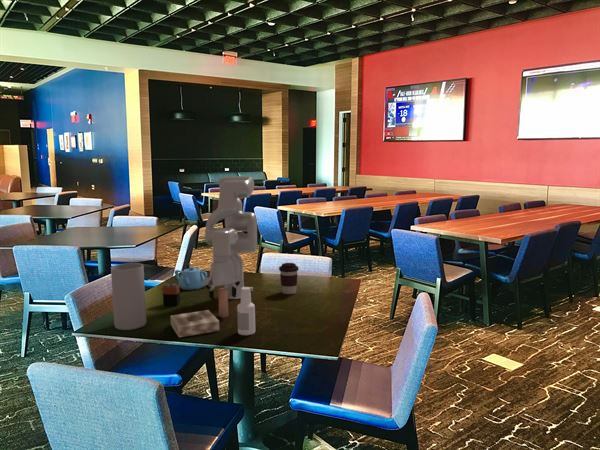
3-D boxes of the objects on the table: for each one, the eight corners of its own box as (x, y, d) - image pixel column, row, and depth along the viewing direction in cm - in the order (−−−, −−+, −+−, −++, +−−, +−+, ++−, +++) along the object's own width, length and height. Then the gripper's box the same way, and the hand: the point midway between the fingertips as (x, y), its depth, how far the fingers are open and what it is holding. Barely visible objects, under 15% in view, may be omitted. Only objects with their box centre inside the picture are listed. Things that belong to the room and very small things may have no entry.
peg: (226, 314, 211) (226, 287, 209) (229, 316, 207) (228, 289, 206) (218, 315, 209) (217, 288, 207) (220, 318, 205) (219, 291, 204)
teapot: (170, 287, 258) (169, 266, 256) (198, 281, 269) (197, 262, 268) (183, 292, 246) (183, 271, 245) (212, 287, 258) (212, 266, 256)
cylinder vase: (135, 318, 206) (132, 262, 202) (152, 324, 198) (149, 265, 195) (108, 326, 196) (104, 267, 193) (125, 333, 188) (121, 271, 185)
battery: (176, 306, 223) (175, 285, 222) (163, 305, 224) (162, 285, 223) (180, 303, 227) (179, 283, 226) (167, 303, 228) (166, 282, 227)
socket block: (208, 319, 204) (208, 310, 204) (219, 330, 190) (219, 321, 189) (170, 324, 197) (170, 315, 197) (178, 337, 183) (178, 327, 182)
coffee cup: (299, 290, 249) (299, 262, 247) (297, 295, 239) (297, 266, 237) (280, 289, 250) (280, 261, 248) (278, 295, 240) (277, 265, 238)
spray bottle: (238, 329, 191) (237, 286, 188) (255, 329, 191) (254, 285, 189) (237, 336, 184) (236, 290, 181) (255, 335, 184) (254, 290, 182)
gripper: (238, 256, 212) (239, 293, 213) (199, 259, 204) (201, 298, 206) (243, 258, 205) (244, 297, 207) (204, 262, 197) (205, 302, 199)
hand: (223, 298), depth 206 cm, fingers open, 9 cm apart
